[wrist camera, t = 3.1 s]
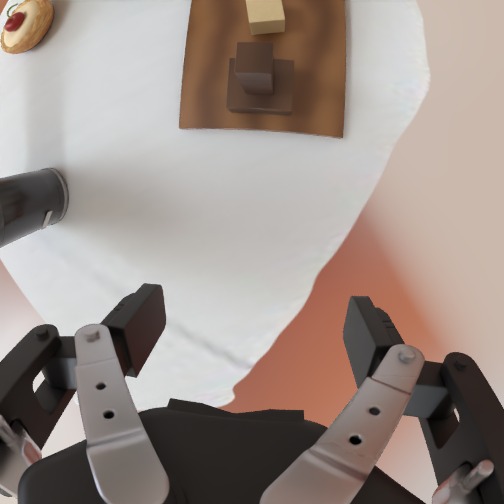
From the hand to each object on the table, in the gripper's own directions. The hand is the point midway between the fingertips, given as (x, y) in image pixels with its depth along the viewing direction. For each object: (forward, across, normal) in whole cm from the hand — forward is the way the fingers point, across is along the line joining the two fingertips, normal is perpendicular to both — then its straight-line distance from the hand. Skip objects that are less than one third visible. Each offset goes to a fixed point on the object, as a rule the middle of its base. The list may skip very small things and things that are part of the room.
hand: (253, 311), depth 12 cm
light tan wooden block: (+25, +1, -24) cm, 35 cm away
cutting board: (+26, +1, -22) cm, 34 cm away
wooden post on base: (+25, +1, -14) cm, 29 cm away
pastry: (+27, +42, -34) cm, 61 cm away
